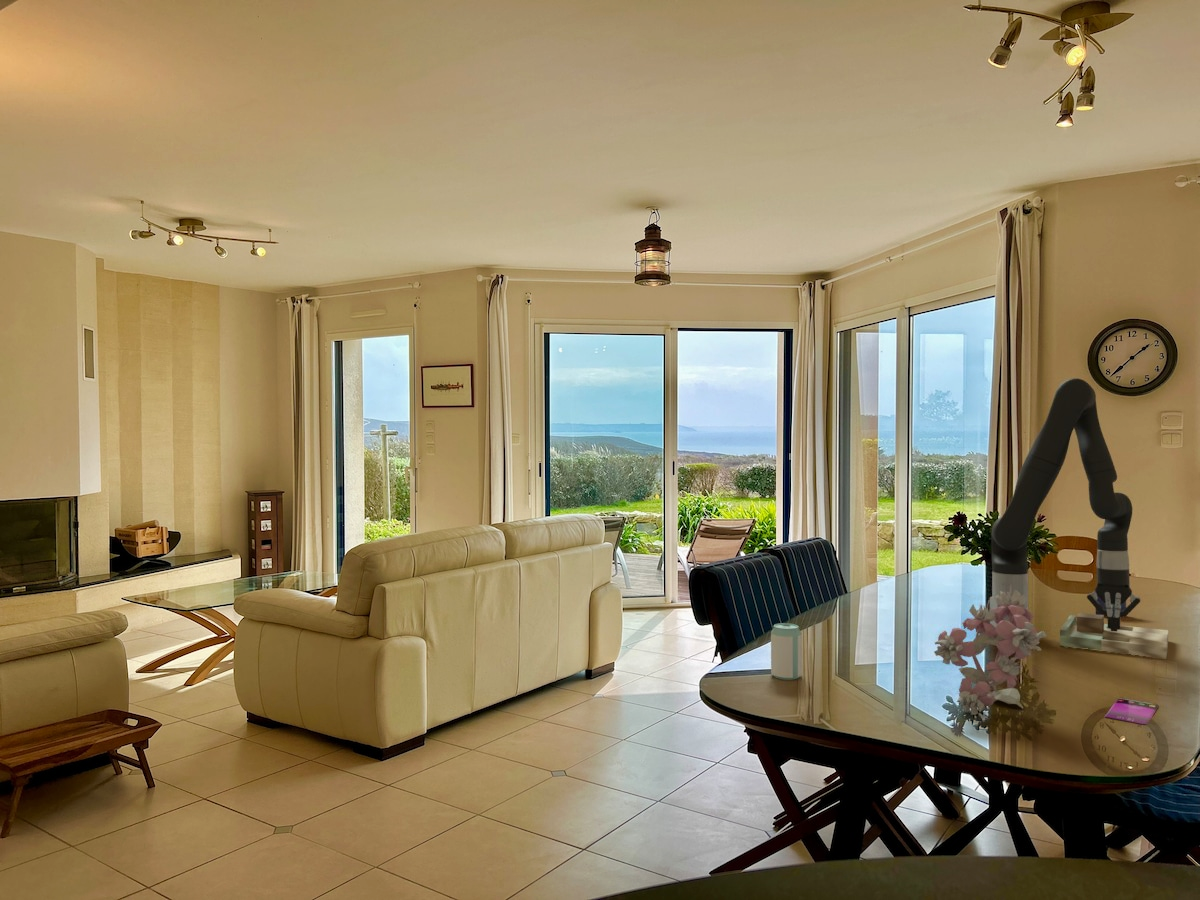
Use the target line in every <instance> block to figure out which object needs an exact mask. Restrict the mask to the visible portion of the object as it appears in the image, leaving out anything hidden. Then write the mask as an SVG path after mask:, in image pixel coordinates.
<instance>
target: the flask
mask: <svg viewBox="0 0 1200 900" xmlns="http://www.w3.org/2000/svg"><path fill="white" fill-rule="evenodd" d="M1097 597H1098V599H1097V601H1098V602H1099V603H1100V604H1101V605H1102V607H1103V608H1104V609H1106V603H1104V602H1103V601H1102V600H1101V598H1100V597H1099V596H1098V595H1097ZM1126 607H1127V600H1126V601H1125V602H1124V603H1123V604H1121V611H1124V610H1125V609H1126ZM1112 609H1113V616H1114V614H1115V604H1112ZM1106 610H1107V609H1106ZM1095 614H1096V615H1104V614H1100V612H1099V611H1098V610H1097V609H1096V608H1095ZM1104 616H1106V615H1104ZM1121 618H1124V617H1123V616H1122V617H1121Z"/></svg>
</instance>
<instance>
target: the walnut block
mask: <svg viewBox="0 0 1200 900" xmlns="http://www.w3.org/2000/svg"><path fill="white" fill-rule="evenodd" d="M1076 621H1077V631H1080V632H1089V633H1099V634H1102V633H1103V631H1104V624H1105V617H1104V615H1096V613H1085V612H1078V614H1077V615H1076Z"/></svg>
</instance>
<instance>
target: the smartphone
mask: <svg viewBox="0 0 1200 900" xmlns="http://www.w3.org/2000/svg"><path fill="white" fill-rule="evenodd" d="M1158 708H1159V705H1158V704H1157V703H1153V702H1147V701H1143V700H1142V701H1141V700H1138V699H1137V700H1136V699H1130V698H1124V697H1118V698H1117V699H1116V700H1115V702H1114V703H1113V705H1112V706H1111V707H1110V708H1109V710H1108V711H1107V712H1106V713H1105V715H1104V718H1105V719H1110V720H1113V721H1115V720H1116V721H1122V722H1126V723H1131V724H1135V725H1136V724H1137V725H1143V726H1147V725H1148V724H1149V723H1150V721H1151V719H1152V718H1153V716H1154V715H1155V713H1156V711H1157V709H1158Z"/></svg>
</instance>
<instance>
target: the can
mask: <svg viewBox="0 0 1200 900" xmlns="http://www.w3.org/2000/svg"><path fill="white" fill-rule="evenodd" d="M799 628H800V627H799V625H797V624H794V623H784V622H783V623H775V624H774V625H773V627H772V630H771V631H770V673H771V675H772V676H774V677H775V678H776V679H779V680H784V681H793V680H794V681H795V680H798V678H800V677H802V675H803V663H802V661H803V660H802V659H803V655H802V654H803V653H802V651H803V649H802V647H803V646H802V643H803V642H802V639H803V638H802V637H803V636H802V632H801V630H800V629H799Z"/></svg>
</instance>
